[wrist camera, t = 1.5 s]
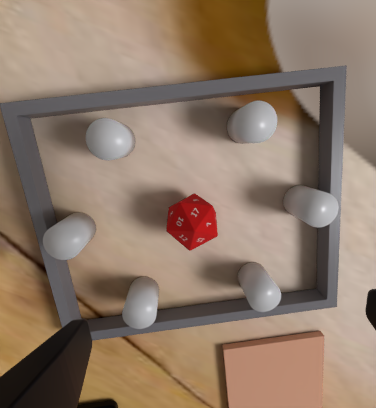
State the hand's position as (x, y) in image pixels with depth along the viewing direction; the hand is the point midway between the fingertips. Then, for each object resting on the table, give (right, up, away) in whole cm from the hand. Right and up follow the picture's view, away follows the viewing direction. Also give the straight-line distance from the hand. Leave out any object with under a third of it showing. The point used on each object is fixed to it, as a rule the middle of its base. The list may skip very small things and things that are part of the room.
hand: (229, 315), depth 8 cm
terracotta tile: (+7, -13, +15) cm, 21 cm away
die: (-1, +3, +11) cm, 12 cm away
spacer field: (-1, +3, +11) cm, 11 cm away
